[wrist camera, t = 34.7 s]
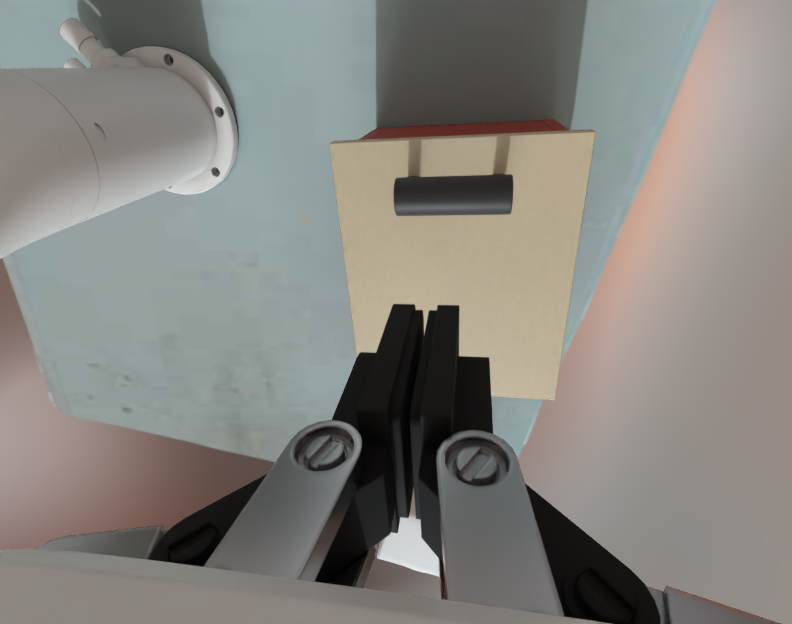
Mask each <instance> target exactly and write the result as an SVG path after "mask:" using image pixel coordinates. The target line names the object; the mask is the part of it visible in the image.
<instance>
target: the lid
mask: <svg viewBox="0 0 792 624" xmlns="http://www.w3.org/2000/svg"><path fill="white" fill-rule="evenodd" d="M595 133H596V132H595V131H593V130H591V129H590V130H568V131H546V132H523V133H501V134H479V135H457V136H434V137H412V138H390V139H367V140H345V141H333V142H331V143H330V151H331V159H332V167H333V174H334V182H335V190H336V197H337V205H338V213H339V221H340V228H341V236H342V244H343V251H344V259H345V267H346V275H347V282H348V290H349V298H350V305H351V313H352V321H353V328H354V336H355V344H356V352H357V357H358V355H359V353H361V352H372V353H376V352H377V349H378V346H379V343H380V340H381V337H382V334H383V331H384V329H385V326H386V323H387V320H388V317H389V314H390V311H391V308H392V306H393V304H415V307H416V310H423V316H424V334H425V329H426V324H427V319H428V313H429V310H437V306H438V305H459V356H469V357H489V361H490V381H491V396H495V397H512V398H530V399H548V400H554V399H555V395H556V388H557V382H558V375H559V369H560V362H561V356H562V349H563V343H564V336H565V329H566V323H567V316H568V310H569V303H570V297H571V290H572V284H573V277H574V271H575V264H576V257H577V251H578V244H579V238H580V231H581V225H582V218H583V212H584V205H585V199H586V192H587V186H588V179H589V172H590V166H591V159H592V153H593V146H594V140H595Z"/></svg>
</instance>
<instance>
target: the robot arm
mask: <svg viewBox="0 0 792 624" xmlns="http://www.w3.org/2000/svg"><path fill="white" fill-rule="evenodd" d="M60 34H61V36H62V37H63V38H64V39H65V40H66V41H67V42H68V43H69V44H70V45H72V46H73V47H74V48H75V49H76V50H77V51H78V52H79V53H80V54H82V55H84V56H85V57H86V58H87V59H88V60H89V61H90V62H91V68H86V67H85V66H84V65H83V64H82V63H81V62H80V61H79V60H78V59H77V58H71V59H69V60H68V61H67V62H66V63H65V66H64V68H27V69H0V259H1V258H3V257H5V256H6V255H8V254H10V253H12V252H14V251H16V250H18V249H20V248H22V247H24V246H26V245H28V244H30V243H32V242H35V241H37V240H39V239H42V238H44V237H46V236H49V235H51V234H53V233H56V232H58V231H61V230H63V229H66V228H68V227H70V226H73V225H76V224H78V223H81V222H83V221H86V220H88V219H91V218H93V217H96V216H98V215H101V214H103V213H106V212H108V211H111V210H113V209H116V208H118V207H121V206H123V205H126V204H128V203H131V202H133V201H136V200H138V199H141V198H143V197H146V196H148V195H151V194H153V193H156V192H158V191H161V190H163V189H165V190H168V191H170V192H174V193H179V194H197V193H201V192H205V191H207V190H209V189H211V188H213V187H215V186H216V185H218V184H219V183H221V182H222V181H223V180H224V179H225V177H226V176H227V175H228V174H229V172H230V170H231V169H232V167H233V165H234V162H235V158H236V155H237V147H238V134H237V125H236V121H235V117H234V113H233V110H232V108H231V106H230V103H229V101H228V98H227V97H226V95H225V93H224V92H223V90H222V88H221V87H220V85H219V84H218V83H217V81H216V80H215V79H214V78H213V76H212V75H211V74H210V73H209V72H208V71H207V70H206V69H205V68H204V67H203V66H201V65H200V64H199V63H198V62H197V61H195V60H194V59H192V58H190V57H189V56H187V55H186V54H184V53H181V52H179V51H176V50H174V49H170V48H165V47H159V46H145V47H140V48H135V49H133V50H131V51H129V52H127V53H125V54H123V55H122V56H120V55H119V54H118V53H117V52H116V51H115V50H114V49H111V48H108V49H106V48H105V47H104V46H103V45H102V44H101V43H100V42H99V41H98V39H97V38H96V37H95V36H94V35H93V34H92V33H91V32H90V31H89V30H88V29H87V28H86V27H85V26H84V25H83V24H82V23H81V22H80V21H79V20H78V19H77V18H70V19H68V20H66V21H65V22H64V23H63V24H62V25H61V27H60ZM222 109H223V110H224V113H223V112H222ZM218 169H219V170H218ZM219 171H220V172H219ZM413 489H414V497H415V513H416V519H420V520H421V538H422V539H423V540H424V541H425V543H426V544H427V545H428V546H429V547H430V549H431V550H432V551H433V552H434V553H435V554H436V556H437V557H438V559H439V577H440V589H441V599H436V598H429V597H422V596H415V595H407V594H401V593H393V592H386V591H379V590H371V589H364V586H365V583H366V581H367V578H368V575H369V572H370V570H371V567H372V564H373V561H374V559H375V554H376V549H377V548H376V544H377V543H379V542H380V541H382V540H383V539H384V538H386V537H387V536H389V535H390V533H398V529H399V523H400V517H402V518H409V515H410V509H411V502H412V495H413ZM0 624H781V623H777V622H775V621H772V620H769V619H766V618H763V617H759V616H757V615H753V614H751V613H747V612H744V611H741V610H738V609H735V608H732V607H729V606H726V605H723V604H720V603H717V602H714V601H711V600H708V599H705V598H702V597H699V596H696V595H693V594H689V593H687V592H684V591H680V590H677V589H675V588H671V587H668V586H666V588H665V590H664V592H662V591H659V590H656V589H653V588H650V587H647V586H646V585H645V584H644V583H643V582H642V581H641V580H640V579H639V578H638V577H637V576H636V575H635V574H634V573H633V572H632V571H631V570H630V569H629V568H628V567H627V566H625V565H624V564H623V563H622V562H621V561H619V560H618V559H617V558H616V557H614V556H613V555H612V554H611V553H609V552H608V551H607V550H606V549H605V548H603V547H602V546H601V545H600V544H599V543H597V542H596V541H595V540H594V539H592V538H591V537H590V536H589V535H587V534H586V533H585V532H584V531H583V530H581V529H580V528H579V527H578V526H576V525H575V524H574V523H573V522H571V521H570V520H569V519H568V518H567V517H565V516H564V515H563V514H562V513H561V512H559V511H558V510H557V509H556V508H554V507H553V506H552V505H551V504H550V503H548V502H547V501H546V500H545V499H543V498H542V497H541V496H540V495H538V494H537V493H536V492H535V491H534V490H532V489H531V488H530V487H529V486H527V485H526V484H525V482H524V479H523V475H522V472H521V469H520V465H519V462H518V459H517V456H516V454H515V452H514V450H513V449H512V447H511V446H510V445H509V444H508V443H507V442H506V441H505V440H503V439H501V438H500V437H498V436H496V435H494V434H493V424H492V403H491V381H490V361H489V357H469V356H459V305H438V306H437V310H429V313H428V319H427V324H426V329H425V334H424V316H423V310H416V307H415V304H393V306H392V308H391V311H390V314H389V317H388V320H387V323H386V326H385V329H384V331H383V334H382V337H381V340H380V343H379V346H378V349H377V352H376V353H372V352H361V353H359V355H358V357H357V359H356V361H355V364H354V366H353V369H352V371H351V374H350V376H349V379H348V381H347V384H346V386H345V389H344V391H343V394H342V396H341V398H340V401H339V403H338V406H337V408H336V411H335V413H334V416H333V418H332V420H327V421H321V422H317V423H314V424H312V425H309V426H307V427H305V428H304V429H302V430H301V431H299V432H298V433H297V434H296V435H295V436H294V437H293V438H292V439H291V441H290V442H289V444H288V445H287V446H286V448H285V449H284V451H283V452H282V454H281V455H280V457H279V458H278V459H277V461H276V462H275V464H274V465H273V467H272V468H271V470H270V471H269V472H268V474H266V475H264V476H262V477H261V478H259V479H257V480H255V481H253V482H251V483H250V484H248V485H246V486H244V487H242V488H240V489H238V490H236V491H235V492H233V493H231V494H229V495H227V496H225V497H223V498H222V499H220V500H218V501H216V502H214V503H212V504H211V505H209V506H207V507H205V508H203V509H201V510H199V511H197V512H196V513H194V514H192V515H190V516H188V517H186V518H185V519H183V520H182V521H180V522H179V523H177V524H176V525H174V526H173V527H172V528H171V529H170V530H165V529H164V527H163V525H157V526H148V527H139V528H131V529H122V530H113V531H105V532H96V533H88V534H78V535H70V536H63V537H60V538H56V539H53V540H50V541H48V542H46V543H44V544H42V545H40V546H38V547H37V548H35V549H13V550H12V549H11V550H0Z"/></svg>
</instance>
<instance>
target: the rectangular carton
mask: <svg viewBox="0 0 792 624" xmlns="http://www.w3.org/2000/svg"><path fill="white" fill-rule="evenodd" d="M377 558H379V559H382V560H385V561H389V562H392V563H395V564H399V565H402V566H405V567H408V568H410V569H413V570H416V571H420V572H424V573H429V574H432V575H435V576H439V559H438V557H437V556H436V554H435V553H434V552H433V551H432V550H431V549H430V547H429V546H428V545H427V544H426V543H425V541H424V540H423V539H422V538H421V520H420V519H416V513H415V497H414V489H413V495H412V502H411V509H410V515H409V518H402V517H400V523H399V529H398V533H390V535H389V536H387V537H386V538H384V539H383V540H382V541H380V546H379V550H378V554H377Z"/></svg>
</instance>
